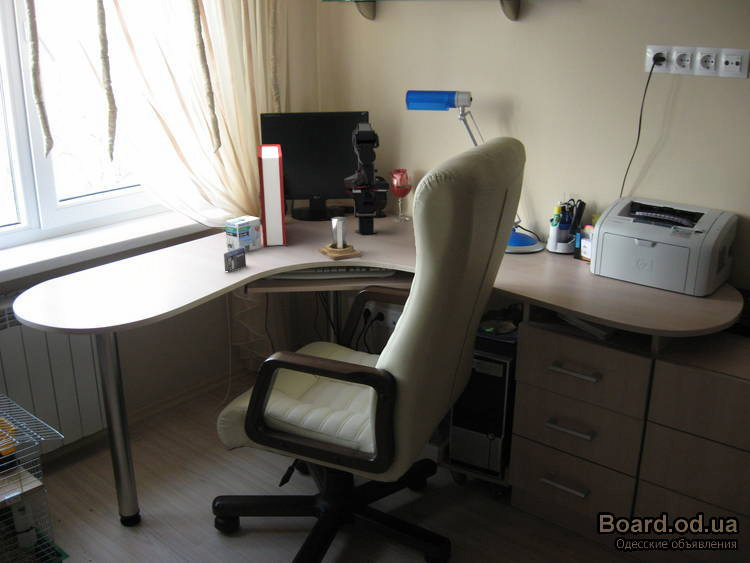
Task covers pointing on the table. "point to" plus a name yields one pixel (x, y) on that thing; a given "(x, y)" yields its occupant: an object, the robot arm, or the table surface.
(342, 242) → the shaft
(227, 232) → the light bulb box
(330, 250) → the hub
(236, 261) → the mini dv tape
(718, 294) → the table surface
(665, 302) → the table surface
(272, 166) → the book
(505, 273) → the table surface
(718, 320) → the table surface
